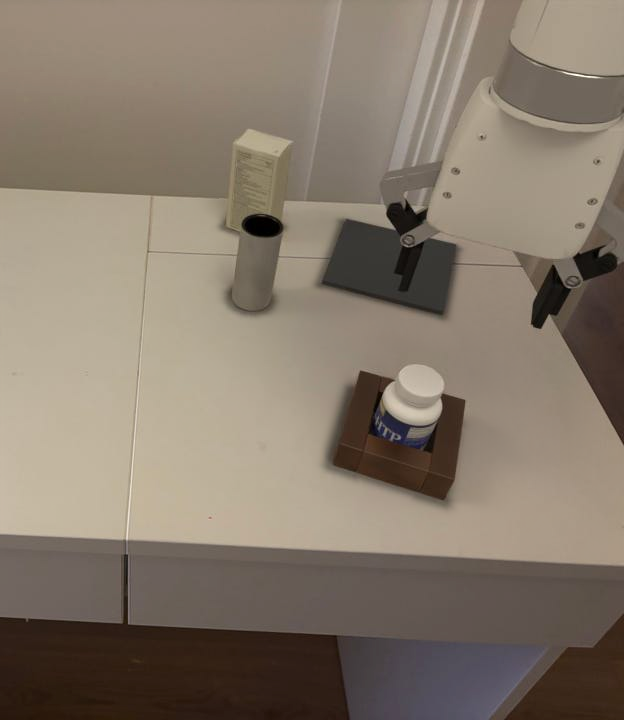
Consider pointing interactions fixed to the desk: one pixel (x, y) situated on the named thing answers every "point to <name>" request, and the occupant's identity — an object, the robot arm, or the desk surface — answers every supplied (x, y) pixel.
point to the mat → (389, 267)
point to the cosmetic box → (257, 176)
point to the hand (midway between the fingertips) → (469, 298)
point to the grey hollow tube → (256, 261)
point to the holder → (394, 459)
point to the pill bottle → (410, 407)
